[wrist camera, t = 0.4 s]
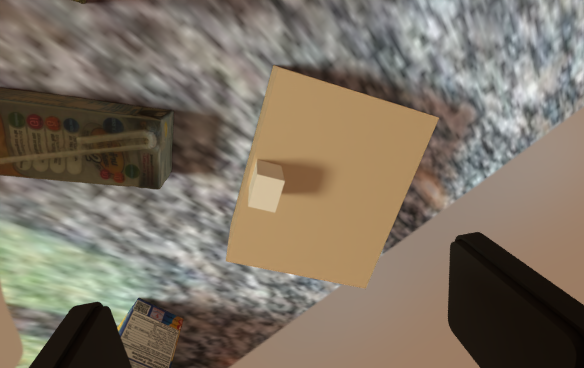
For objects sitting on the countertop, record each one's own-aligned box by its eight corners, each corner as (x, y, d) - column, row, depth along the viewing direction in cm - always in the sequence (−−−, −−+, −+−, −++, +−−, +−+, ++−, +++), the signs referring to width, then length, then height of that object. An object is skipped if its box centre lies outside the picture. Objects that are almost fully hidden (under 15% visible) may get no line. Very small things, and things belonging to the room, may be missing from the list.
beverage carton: (174, 175, 41) (159, 196, 35) (-3, 157, 39) (-52, 176, 32) (176, 109, 39) (161, 118, 33) (-13, 84, 36) (-68, 89, 30)
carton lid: (277, 67, 30) (282, 68, 26) (436, 116, 33) (465, 126, 29) (226, 257, 36) (221, 287, 32) (363, 285, 40) (378, 315, 35)
